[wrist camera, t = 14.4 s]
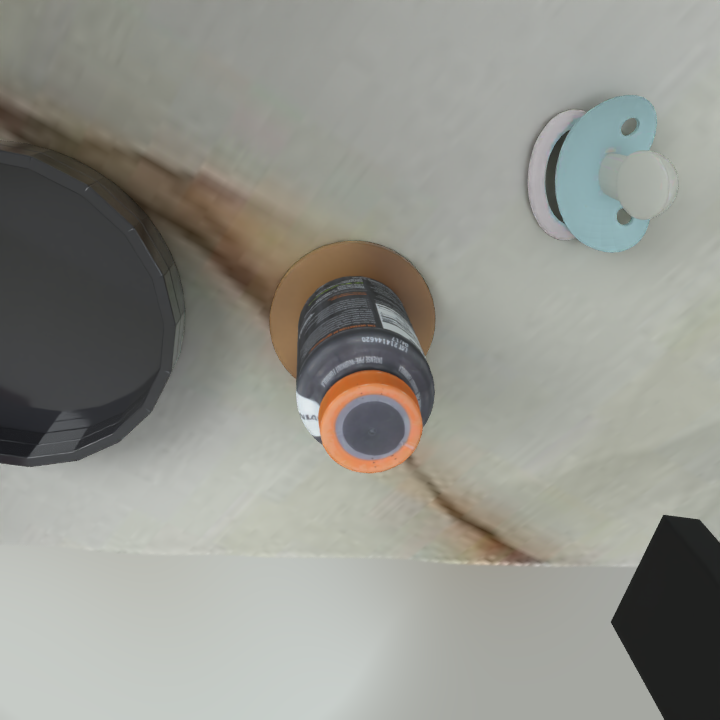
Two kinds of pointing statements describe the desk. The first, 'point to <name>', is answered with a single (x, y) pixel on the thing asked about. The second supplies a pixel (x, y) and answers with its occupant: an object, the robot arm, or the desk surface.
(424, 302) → the coaster
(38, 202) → the pan
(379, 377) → the pill bottle
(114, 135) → the desk surface
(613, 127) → the pacifier
